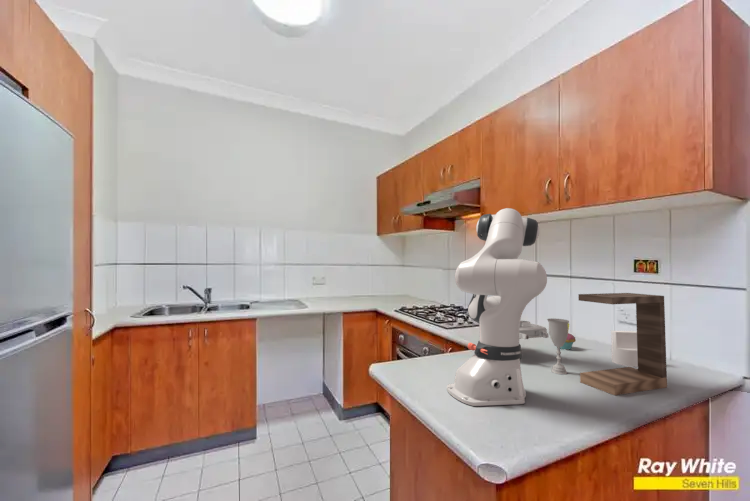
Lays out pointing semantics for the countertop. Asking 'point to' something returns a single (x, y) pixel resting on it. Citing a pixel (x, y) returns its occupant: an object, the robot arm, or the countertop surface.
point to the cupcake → (568, 341)
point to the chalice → (558, 340)
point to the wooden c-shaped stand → (648, 347)
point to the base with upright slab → (624, 348)
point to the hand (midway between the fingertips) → (537, 336)
